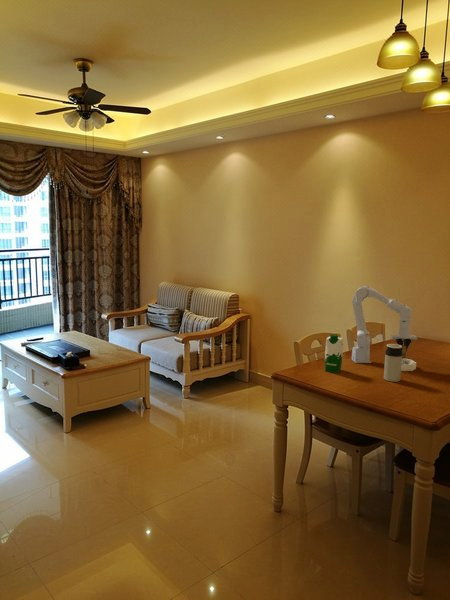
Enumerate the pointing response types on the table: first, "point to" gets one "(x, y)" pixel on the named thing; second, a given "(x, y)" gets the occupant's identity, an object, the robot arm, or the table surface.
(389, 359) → the travel mug
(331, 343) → the milk carton
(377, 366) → the table surface
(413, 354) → the table surface
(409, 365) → the white low round dish
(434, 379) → the table surface
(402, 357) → the wick
